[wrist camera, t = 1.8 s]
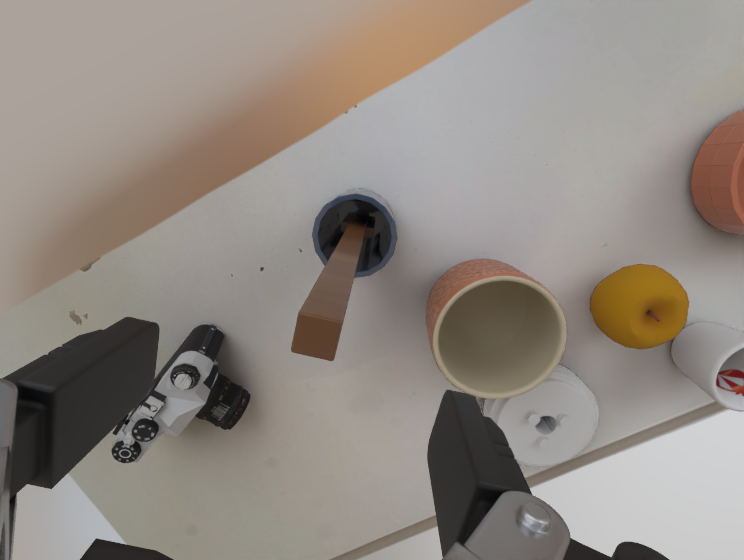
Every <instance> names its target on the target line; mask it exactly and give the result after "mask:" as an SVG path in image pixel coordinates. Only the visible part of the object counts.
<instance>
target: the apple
mask: <svg viewBox="0 0 744 560" xmlns="http://www.w3.org/2000/svg"><path fill="white" fill-rule="evenodd" d="M688 307H689V301H688V296H687V293H686V291H685V290H684V288H683V287H682V286H681V284H680V283H679V282H678V280H677V279H675V278H674V277H673V276H672V275H670V274H669V273H668V272H666V271H665V270H663V269H662V268H659V267H657V266H655V265H644V264H637V265H633V266H628V267H623V268H622V269H620V270H618V271H616V272H614V273H613V274H611V275H609V276H608V277H607V278H605V279H604V280H603V281H601V282H600V283H599V284H598V286H597V287H596V288H595V290H594V292H593V294H592V296H591V299H590V311H591V313H592V316H593V318H594V321H595V323H596V325H597V326H598V327H599V329H600V330H601V331H602V332H603V333H604V334H606V335H607V336H608V337H609V338H610V339H612V340H613V341H615V342H617V343H619V344H621V345H623V346H625V347H630V348H636V349H646V348H652V347H655V346H658V345H660V344H662V343H665V342H667V341H670V340H672V339H673V338H675V337H676V336H677V335H678V334H679V333H680V332H681V331H682V329H683V327H684V325H685V323H686V321H687V314H688Z"/></svg>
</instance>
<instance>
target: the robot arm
mask: <svg viewBox="0 0 744 560" xmlns="http://www.w3.org/2000/svg"><path fill="white" fill-rule="evenodd" d="M158 341H159V326H158V324H157V323H154V322H149V321H145V320H140V319H136V318H132V317H125V318H123V319H122V320H120V321H118V322H117V323H115V324H113V325H112V326H110V327H108V328H107V329H105V330H97V331H94V332H90V333H86V334H83V335H79V336H77V337H75V338H74V339H72V340H70V341H68V342H67V343H65V344H63V345H62V347H58V348H56V349H54V350H52V351H51V352H49V354H48V355H43V356H42V357H40V358H38V359H36V360H34V361H33V362H31V363H29V364H27V365H26V366H24V367H22V368H20V369H18V370H17V371H15V372H13V373H11V374H9V375H8V376H6V377H4V378H2V379H0V560H12V554H13V542H14V531H15V519H16V507H17V492H19V491H20V490H21V489H22V488H23V487H24V486H25V485H26V484H30V485H36V486H40V487H45V488H50V489H52V488H53V487H54V486H55V485H56V484H57V483H58V482H59V481H60V480H61V479H62V478H63V477H64V476H65V475H66V474H67V473H68V472H69V471H70V470H71V469H72V468H73V467H74V466H75V465H76V464H78V463H79V462H80V461H81V460H82V459H83V458H84V457H85V456H86V455H87V454H88V453H89V452H90V451H91V450H92V449H93V448H94V447H95V446H96V445H97V444H98V443H99V442H100V441H101V440H102V439H103V438H104V437H105V436H106V435H107V434H108V433H109V432H110V431H111V430H112V429H113V428H114V427H115V426H116V425H117V424H118V423H119V422H120V421H121V420H122V419H123V418H125V417H126V416H127V415H128V414H129V413H130V412H131V411H132V410H133V409H134V408H135V407H136V406H137V405H138V404H139V403H140V402H141V401H142V400H143V399H144V398H145V397H146V395H147V394H148V392H149V390H150V388H151V386H152V384H153V381H154V377H155V369H156V359H157V350H158ZM514 457H515V456H514V454H513V452H512V450H511V447H509V443H508V441H507V439H506V436H505V434H504V432H503V430H502V429H501V428H500V427H499V426H498V425H497V424H496V423H495V422H494V421H493V420H492V419H491V418H490V417H486V416H483V415H482V413H481V410H480V408H479V405H478V403H477V401H476V398H475V396H473V395H469V394H465V393H461V392H456V391H452V390H446V392H445V393H444V395H443V398H442V401H441V404H440V407H439V411H438V414H437V417H436V420H435V423H434V426H433V429H432V432H431V436H430V439H429V444H428V453H427V459H428V467H429V473H430V479H431V486H432V492H433V498H434V505H435V511H436V518H437V524H438V530H439V536H440V543H441V549H442V556H443V559H442V560H669V559H668V558H666V557H665V556H663V555H662V554H660V553H658V552H657V551H655V550H653V549H651V548H649V547H647V546H644V545H642V544H639V543H634V542H622V543H621V544H619V545H618V546H617V548H616V550H615V552H614V554H613V556H612V558H611V557H609V556H607V555H605V554H603V553H600V552H598V551H596V550H594V549H592V548H590V547H588V546H585V545H583V544H581V543H579V542H577V541H575V540H573V539H571V538H570V532H569V529H568V527H567V525H566V523H565V522H564V520H563V519H562V517H561V516H560V515H559V514H558V513H557V512H556V511H555V510H554V509H553V508H552V507H551V506H550V505H548V504H547V503H545V502H544V501H542V500H541V499H539V498H537V497H535V496H533V495H532V493H531V491H530V489H529V487H528V484H527V482H526V480H525V478H524V476H523V474H522V471H521V469H520V467H519V465H518V463H517V460H516V459H514ZM80 560H173V559H171V558H169V557H167V556H166V555H164V554H162V553H160V552H158V551H155V550H150V549H145V548H140V547H135V546H130V545H125V544H120V543H115V542H110V541H106V540H100V539H95V541H94V542H93V543H92V545H91V546H90V547H89V549H88V550H87V551H86V552H85V554H84V555H83V556H82V558H81V559H80Z"/></svg>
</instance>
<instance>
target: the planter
mask: <svg viewBox="0 0 744 560" xmlns="http://www.w3.org/2000/svg"><path fill="white" fill-rule="evenodd" d="M426 324H427V329H428V334H429V340H430V345H431V350H432V353H433V356H434V359H435V361H436V363H437V365H438V367H439V369H440V371H441V372H442V373H443V375H444V376H445V377H446V378H447V380H448V381H449V382H451V383H452V384H453V385H454V386H455V387H457V388H458V389H460V390H461V391H463V392H465V393H467V394H470V395H473V396H476V397H480V398H485V399H506V398H511V397H515V396H518V395H521V394H524V393H526V392H528V391H530V390H532V389H534V388H535V387H537V386H538V385H540V384H541V383H542V382H544V381H545V380H546V379H547V378H548V377H549V376H550V375H551V374H552V372H553V371H554V370H555V368H556V367H557V365H558V364H559V362H560V360H561V358H562V356H563V353H564V350H565V346H566V341H567V325H566V320H565V316H564V313H563V311H562V309H561V307H560V305H559V303H558V302H557V300H556V299H555V297H554V296H553V295H552V294H551V293H550V292H549V291H548V290H547V289H546V288H545V287H544V286H543V285H541V284H540V283H539V282H537V281H536V280H534V279H533V278H531V277H529V276H528V275H526V274H524V273H522V272H520V271H519V270H517V269H516V268H514V267H512V266H510V265H508V264H506V263H503V262H499V261H496V260H490V259H475V260H470V261H466V262H463V263H460V264H458V265H456V266H454V267H452V268H451V269H449V270H448V271H447V272H445V273H444V274H443V275H442V276H441V277H440V278H439V279H438V281H437V282H436V283H435V285H434V286H433V288H432V290H431V292H430V295H429V297H428V301H427V306H426Z"/></svg>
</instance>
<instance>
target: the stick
mask: <svg viewBox="0 0 744 560" xmlns="http://www.w3.org/2000/svg"><path fill="white" fill-rule="evenodd" d="M374 226H375V222H372V221H368V218H367V217H362V216H358V215H354V216H353V217H351V216H346V217H345V219H344V220H343V221H342V226H341V231H343V232H344V234H343V236H342V238H341V239H340V241H339V243H338V245H337V246H336V248H335V250H334V252H333V253H332V255H331V257H330V259H329V260H328V262H327V264H326V266H325V267H324V269H323V271H322V273H321V274H320V276H319V278H318V280H317V281H316V283H315V285H314V287H313V289H312V290H311V292H310V294H309V296H308V297H307V299H306V301H305V303H304V304H303V306H302V308H301V310H300V311H299V313H298V318H297V323H296V327H295V332H294V337H293V342H292V347H291V351H292V352H294V353H298V354H302V355H307V356H311V357H316V358H320V359H325V360H329V361H333V360H334V358H335V354H336V350H337V346H338V342H339V337H340V333H341V329H342V325H343V321H344V317H345V313H346V309H347V305H348V301H349V296H350V292H351V288H352V284H353V280H354V276H355V272H356V268H357V264H358V260H359V255H360V251H361V247H362V243H363V239H364V237H369V238H372V236H373V232H374Z"/></svg>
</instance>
